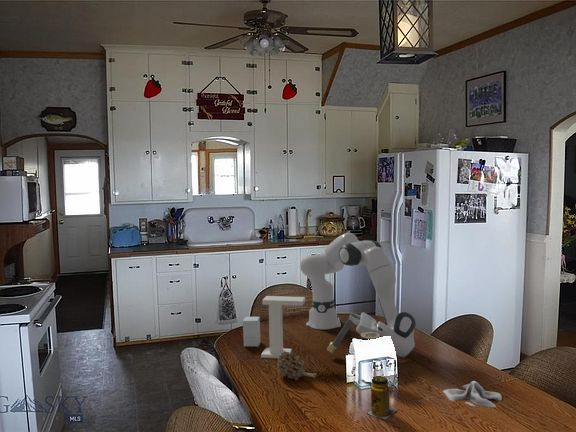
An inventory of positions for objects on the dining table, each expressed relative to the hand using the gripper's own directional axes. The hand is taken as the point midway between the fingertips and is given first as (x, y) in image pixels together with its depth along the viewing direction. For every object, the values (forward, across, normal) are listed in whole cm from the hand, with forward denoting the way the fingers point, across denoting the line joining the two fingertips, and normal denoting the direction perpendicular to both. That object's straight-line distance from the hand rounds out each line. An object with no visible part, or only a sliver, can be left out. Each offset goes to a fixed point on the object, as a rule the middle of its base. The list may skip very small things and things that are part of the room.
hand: (349, 315), depth 220 cm
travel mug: (-18, +22, +12) cm, 31 cm away
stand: (+16, 0, +31) cm, 35 cm away
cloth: (-52, +32, -6) cm, 61 cm away
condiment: (-23, +48, +10) cm, 54 cm away
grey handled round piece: (+6, +26, +26) cm, 38 cm away
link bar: (-2, 0, +9) cm, 9 cm away
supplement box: (+32, -12, +41) cm, 54 cm away
